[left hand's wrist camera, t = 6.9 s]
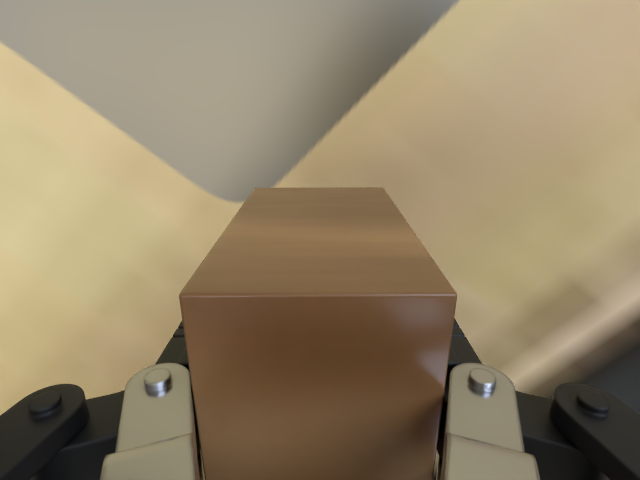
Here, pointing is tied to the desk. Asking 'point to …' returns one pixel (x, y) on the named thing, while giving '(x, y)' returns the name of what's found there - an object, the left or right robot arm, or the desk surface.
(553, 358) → the desk surface
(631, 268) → the desk surface
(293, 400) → the bar
